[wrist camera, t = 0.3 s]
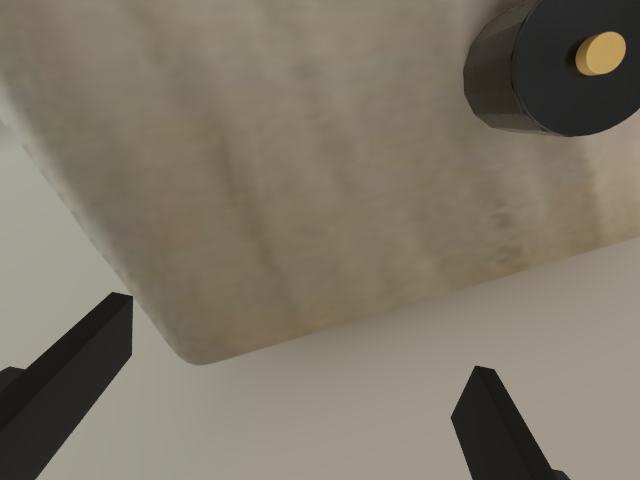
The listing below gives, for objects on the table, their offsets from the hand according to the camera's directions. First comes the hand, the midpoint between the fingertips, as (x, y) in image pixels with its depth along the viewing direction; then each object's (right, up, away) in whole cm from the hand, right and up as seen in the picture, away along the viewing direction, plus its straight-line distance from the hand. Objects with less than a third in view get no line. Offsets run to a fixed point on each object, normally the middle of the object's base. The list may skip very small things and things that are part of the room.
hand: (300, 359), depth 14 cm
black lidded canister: (+20, +21, +21) cm, 36 cm away
